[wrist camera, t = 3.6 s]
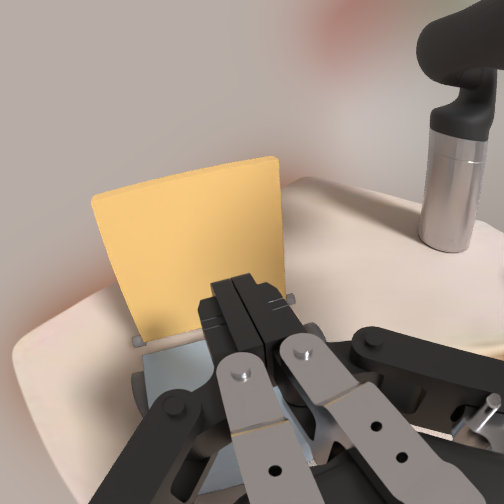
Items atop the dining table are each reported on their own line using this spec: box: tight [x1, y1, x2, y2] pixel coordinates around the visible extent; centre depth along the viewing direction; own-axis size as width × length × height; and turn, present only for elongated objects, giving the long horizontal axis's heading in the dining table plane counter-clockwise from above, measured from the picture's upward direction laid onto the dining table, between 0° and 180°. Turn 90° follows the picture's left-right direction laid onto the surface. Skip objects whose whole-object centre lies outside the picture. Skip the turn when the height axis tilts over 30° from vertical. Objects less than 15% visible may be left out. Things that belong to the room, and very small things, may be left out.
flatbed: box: [131, 322, 326, 495], centre depth 23 cm, size 12×16×4 cm
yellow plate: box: [91, 156, 296, 348], centre depth 24 cm, size 2×15×14 cm, turn 109°
